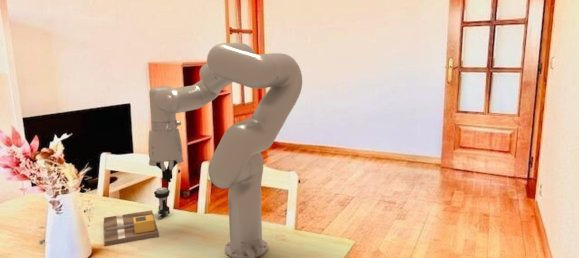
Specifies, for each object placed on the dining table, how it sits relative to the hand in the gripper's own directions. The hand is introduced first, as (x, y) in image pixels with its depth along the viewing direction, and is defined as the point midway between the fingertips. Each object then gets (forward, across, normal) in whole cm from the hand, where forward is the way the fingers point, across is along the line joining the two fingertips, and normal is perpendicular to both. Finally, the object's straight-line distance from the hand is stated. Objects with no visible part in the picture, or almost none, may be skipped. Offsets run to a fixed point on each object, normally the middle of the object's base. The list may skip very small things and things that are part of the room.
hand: (167, 181), depth 141 cm
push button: (+17, +1, -12) cm, 21 cm away
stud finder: (+15, +8, 0) cm, 17 cm away
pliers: (+18, +33, -11) cm, 39 cm away
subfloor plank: (+17, +12, -6) cm, 22 cm away
